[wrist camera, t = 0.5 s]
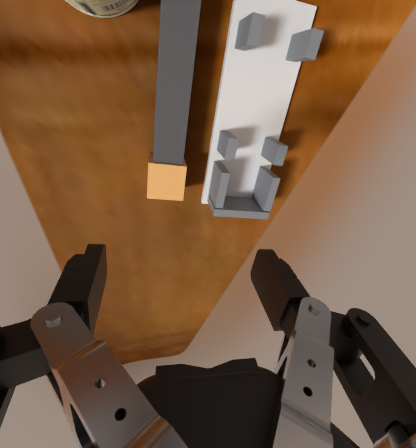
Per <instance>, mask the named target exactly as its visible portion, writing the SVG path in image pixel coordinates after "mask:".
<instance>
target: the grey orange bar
mask: <svg viewBox="0 0 416 448" xmlns="http://www.w3.org/2000/svg"><path fill="white" fill-rule="evenodd" d="M200 7H201V0H161V8H160V27H159V46H158V66H157V85H156V104H155V123H154V143H153V153H149V164H148V186H147V198H150V199H164V200H178V201H183V196H184V187H185V179H186V171H187V166H186V163H185V160H184V151H185V142H186V133H187V124H188V115H189V106H190V97H191V88H192V79H193V70H194V61H195V52H196V43H197V34H198V25H199V16H200Z"/></svg>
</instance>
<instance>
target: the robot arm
mask: <svg viewBox="0 0 416 448" xmlns="http://www.w3.org/2000/svg"><path fill="white" fill-rule="evenodd" d="M106 276H107V261H106V246H105V244H88V246H87V248H86V251H85V254H75V255H74V256H73V257H72V258H71V259H69V260H68V261H67V263H66V265H65V267H64V270H63V272H62V274H61V276H60V278H59V280H58V283H57V285H56V287H55V289H54V291H53V293H52V296H51V298H50V300H49V302H48V304H47V305H46V306H45V307H42V308H41V309H39V310H38V311H37V312H36V313H35V314H34V315H33V317H32V318H31V319H29V320H27V321H24V322H20V323H17V324H13V325H9V326H5V327H0V427H1V424H2V422H3V419H4V416H5V414H6V411H7V408H8V406H9V403H10V401H11V398H12V395H13V393H14V390H15V387H16V386H17V385H19V384H22V383H25V382H28V381H30V380H33V379H36V378H39V377H41V376H44V375H45V376H46V378H47V380H48V382H49V384H50V385H51V387H52V389H53V391H54V393H55V395H56V397H57V399H58V401H59V403H60V405H61V407H62V409H63V411H64V413H65V416H66V418H67V421H68V423H69V426H70V428H71V430H72V432H73V435H74V437H75V438H76V441H77V443H78V444H79V447H80V448H360V447H358V446H357V445H356V444H355V443H354V442H353V441H352V440H351V439H350V438H348V437H347V436H346V435H345V434H344V433H343V432H342V431H340V429H338V428H337V427H336V426H335V425H334V424H333V423H332V422H331V421H330V417H331V400H332V380H333V370H334V371H335V373H336V375H337V377H338V379H339V381H340V382H341V384H342V386H343V388H344V390H345V392H346V394H347V396H348V398H349V399H350V401H351V403H352V405H353V407H354V409H355V410H356V412H357V414H358V416H359V418H360V420H361V422H362V424H363V426H364V427H365V429H366V431H367V433H368V435H369V437H370V439H371V440H372V442H373V444H374V448H416V368H415V367H414V365H413V364H412V363H411V362H410V360H409V359H408V358H407V357H406V356H405V354H404V353H403V352H402V351H401V349H400V348H399V347H398V346H397V345H396V343H395V342H394V341H393V340H392V338H391V337H390V336H389V335H388V334H387V332H386V331H385V330H384V329H383V328H382V327H381V325H380V324H379V323H378V321H377V320H376V319H375V318H374V317H373V316H371V315H370V314H369V313H367V312H366V311H363V310H361V309H357V308H352V309H350V310H349V311H348V312H347V314H346V315H344V314H340V313H336V312H332V311H330V310H329V308H328V307H327V306H326V305H325V304H324V303H323V302H321V301H320V300H318V299H316V298H312V297H310V295H309V294H308V292H307V291H306V290H305V288H304V287H303V285H302V284H301V282H300V281H299V279H297V276H296V275H295V273H293V270H292V269H291V267H290V266H289V265H288V264H287V263H286V262H285V261H283V260H282V259H279V258H278V256H277V255H276V253H275V252H274V251H273V250H271V249H259V250H258V251H257V254H256V257H255V260H254V263H253V266H252V270H251V280H252V283H253V285H254V287H255V289H256V292H257V294H258V296H259V298H260V300H261V303H262V305H263V307H264V309H265V311H266V314H267V316H268V318H269V320H270V322H271V325H272V327H273V329H274V331H284V333H285V335H284V337H283V339H282V343H281V347H280V350H279V354H278V357H277V361H276V364H275V368H274V371H273V372H272V371H270V370H268V369H265V368H262V367H259V366H258V365H257V362H256V359H255V358H249V359H237V360H231V361H228V362H226V363H223V364H221V365H218V366H215V367H213V368H202V367H196V366H190V365H185V364H176V365H164V366H156V373H155V375H153V376H151V377H148V378H146V379H144V380H143V381H141V382H140V383H138V384H137V385H136V384H135V382H134V381H133V379H132V378H131V377H130V375H129V374H128V373H127V371H126V370H125V369H124V367H123V366H122V365H121V363H120V362H119V360H118V359H117V358H116V356H115V355H114V354H113V352H112V351H111V350H110V348H109V347H108V346H107V344H106V343H105V342H104V341H102V340H100V341H97V340H96V339H95V337H94V336H93V333H94V329H95V325H96V320H97V316H98V312H99V308H100V304H101V299H102V295H103V291H104V287H105V282H106ZM362 353H363V354H364V356H365V357H366V359H367V360H368V362H369V363H370V365H371V366H372V368H373V369H374V372H375V380H374V379H373V377H372V376H371V374H370V372H369V371H368V369H367V368H366V367H365V365H364V363H363V362H362V360H361V359H360V356H361V355H362Z"/></svg>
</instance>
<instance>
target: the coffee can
mask: <svg viewBox="0 0 416 448" xmlns="http://www.w3.org/2000/svg"><path fill="white" fill-rule="evenodd" d="M65 1H66V2H67V3H69V4H70V5H72V6H73V7H75V8H76V9H77V10H79V11H81V12H83V13H85V14H88V15H91V16H94V17H99V18H112V17H116V16H120V15H122V14H124V13H126V12H128V11H129V10H130V9H131V8H133V7H134V6H135V5H136V4H137V2H138V1H139V0H65Z"/></svg>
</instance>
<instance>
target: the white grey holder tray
mask: <svg viewBox="0 0 416 448" xmlns="http://www.w3.org/2000/svg"><path fill="white" fill-rule="evenodd" d="M316 9H317V6H313V5H310V4H307V3H303V2H300V1H296V0H233V5H232V11H231V17H230V24H229V30H228V36H227V42H226V49H225V55H224V61H223V67H222V74H221V80H220V86H219V92H218V99H217V105H216V111H215V117H214V124H213V130H212V136H211V142H210V149H209V155H208V161H207V167H206V174H205V180H204V186H203V192H202V199H201V202H202V204H209V206H210V209H211V211H212V213H213V216H220V217H237V218H254V219H268V217H269V214H270V212H269V211H271V208H272V204H273V201H274V198H275V195H276V192H277V188H278V185H279V182H280V179H281V178H279V177H278V176H277V175H276V174H274V173H273V172H272V171H271V170H270V169H271V166H272V164H273V165H278V166H283V163H284V159H285V156H286V153H287V150H288V146H287V145H286V144H284V143H282V142H280V141H279V138H280V134H281V131H282V127H283V124H284V120H285V117H286V113H287V110H288V106H289V103H290V99H291V96H292V92H293V89H294V85H295V82H296V78H297V75H298V71H299V68H300V64H301V61H311V60H315V59H316V56H317V52H318V49H319V46H320V43H321V40H322V36H323V33H324V31H323V30H319V29H315V28H312V29H311V26H312V23H313V19H314V16H315V12H316Z"/></svg>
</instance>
